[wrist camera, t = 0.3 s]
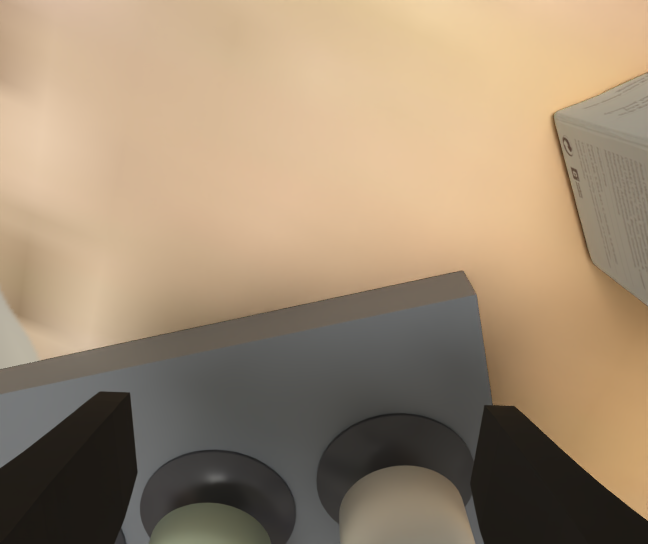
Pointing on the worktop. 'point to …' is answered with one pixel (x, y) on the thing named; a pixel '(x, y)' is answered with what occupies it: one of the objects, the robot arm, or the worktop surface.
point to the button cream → (404, 509)
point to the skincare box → (611, 179)
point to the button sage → (209, 526)
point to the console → (281, 405)
